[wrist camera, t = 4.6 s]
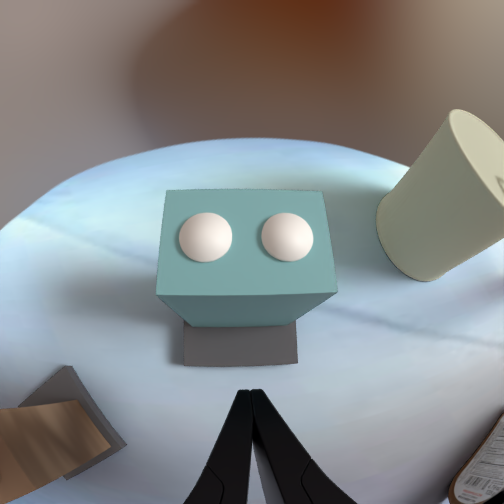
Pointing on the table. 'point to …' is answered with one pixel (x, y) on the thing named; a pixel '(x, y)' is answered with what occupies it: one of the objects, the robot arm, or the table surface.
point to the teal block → (244, 256)
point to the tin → (481, 470)
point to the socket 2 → (240, 345)
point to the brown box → (44, 445)
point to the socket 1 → (71, 388)
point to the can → (446, 200)
